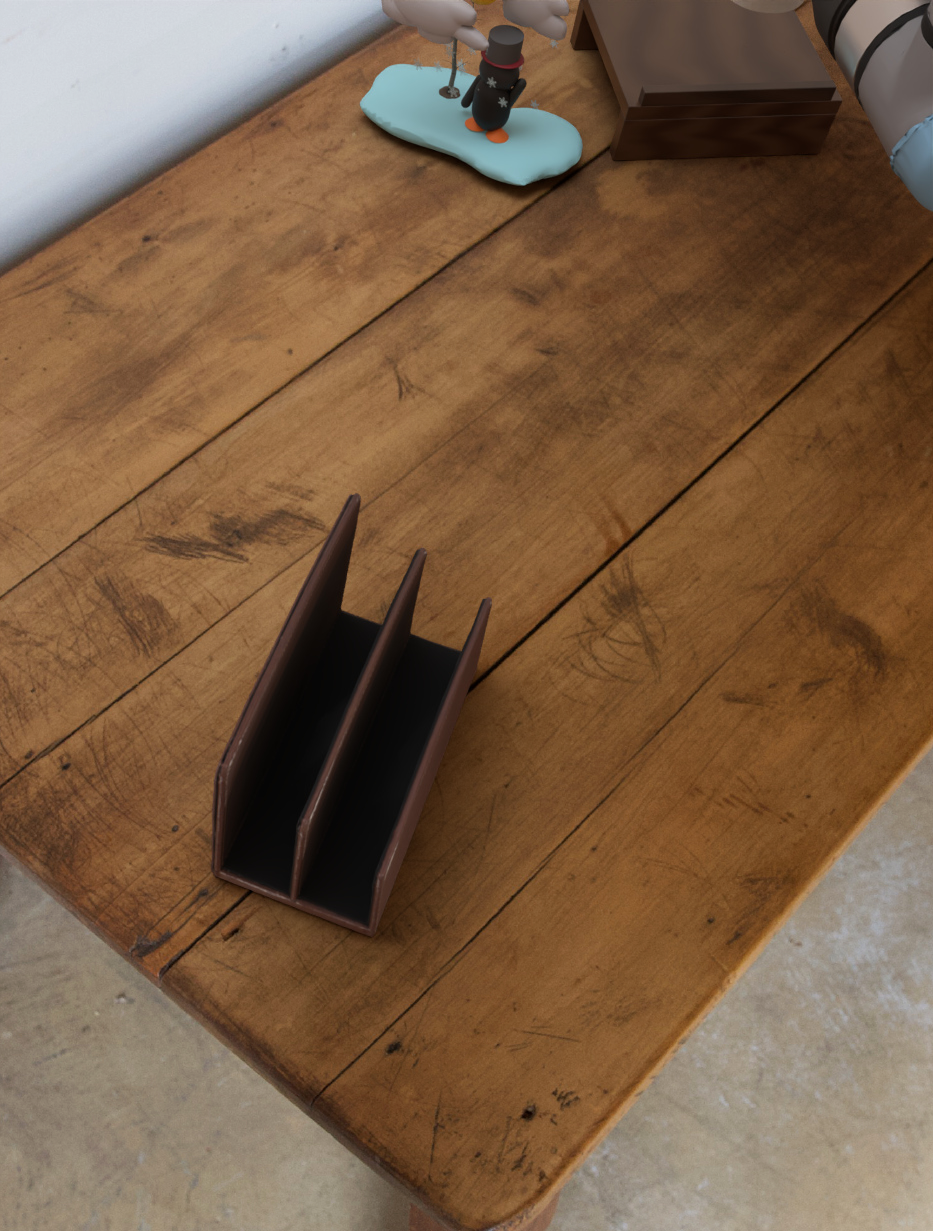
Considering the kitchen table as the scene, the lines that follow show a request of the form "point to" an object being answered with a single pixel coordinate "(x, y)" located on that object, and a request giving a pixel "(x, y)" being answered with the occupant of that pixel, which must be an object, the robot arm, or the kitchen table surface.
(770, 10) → the coffee cup
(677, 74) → the brown wooden stand
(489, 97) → the penguin figurine
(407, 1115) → the kitchen table surface
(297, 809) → the letter holder
